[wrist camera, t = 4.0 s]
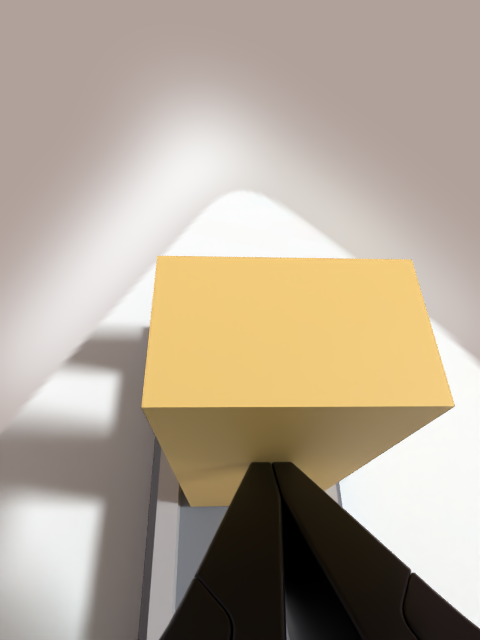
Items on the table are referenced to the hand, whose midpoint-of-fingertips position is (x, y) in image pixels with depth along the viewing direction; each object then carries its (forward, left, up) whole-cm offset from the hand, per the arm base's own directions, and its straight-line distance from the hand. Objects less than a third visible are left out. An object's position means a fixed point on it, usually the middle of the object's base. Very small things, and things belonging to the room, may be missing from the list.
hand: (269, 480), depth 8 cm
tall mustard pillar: (+1, +1, -7) cm, 7 cm away
